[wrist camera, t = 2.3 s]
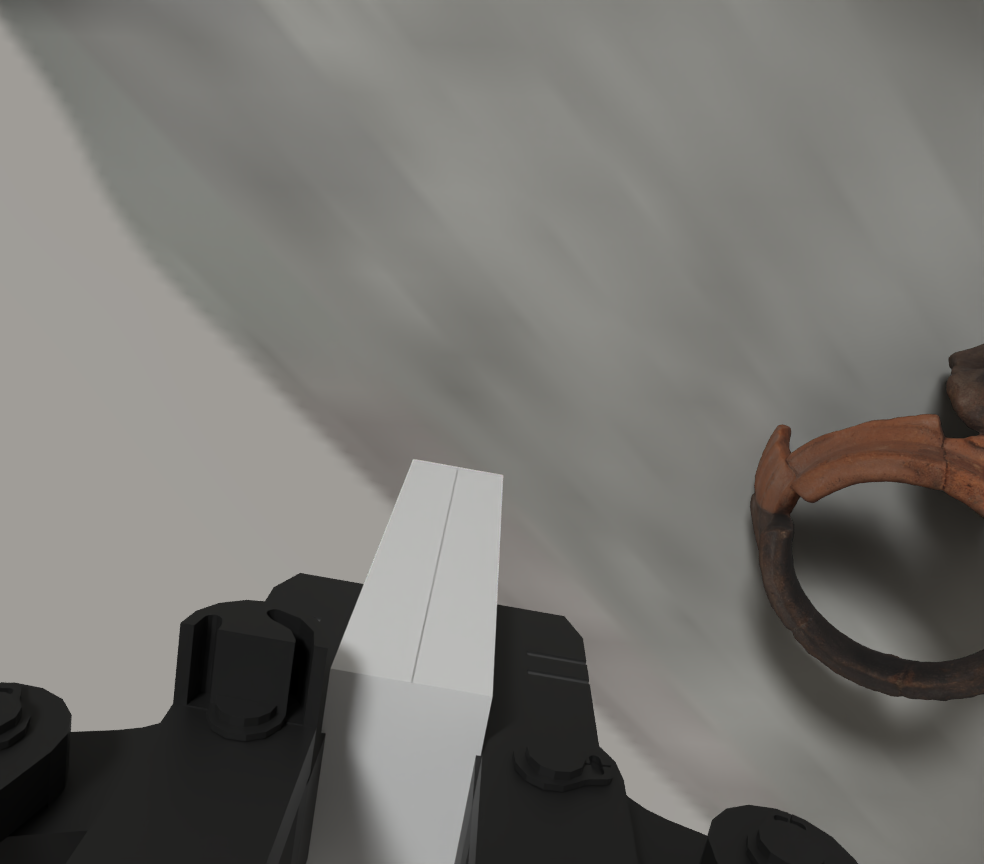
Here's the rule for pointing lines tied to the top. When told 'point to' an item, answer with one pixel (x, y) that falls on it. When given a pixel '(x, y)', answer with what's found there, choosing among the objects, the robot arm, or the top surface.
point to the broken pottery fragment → (860, 459)
